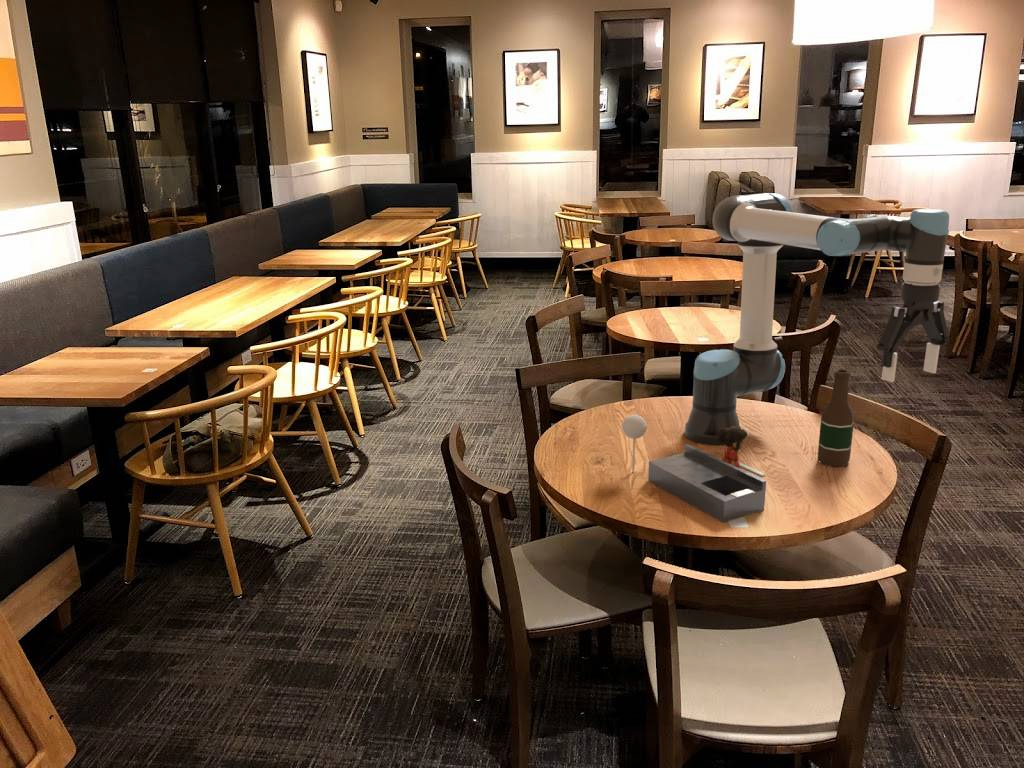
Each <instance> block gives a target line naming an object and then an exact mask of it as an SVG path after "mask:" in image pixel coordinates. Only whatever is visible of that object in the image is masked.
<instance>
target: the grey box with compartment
mask: <svg viewBox="0 0 1024 768" xmlns="http://www.w3.org/2000/svg"><path fill="white" fill-rule="evenodd" d="M721 459H722V458H721ZM721 459H720V458H718V457H716V456H713V455H712V454H710V453H707V452H705V451H704V450H702V449H699V448H697V447H695V446H693V445H691V444H689V443H687V444H684V452H681V453H677V454H673V455H669V456H666V457H662V458H658V459H653V460H651V461H650V460H649V461H648V476H647V477H648V478H647V480H648V482H650V483H652V485H656V486H657V487H659V488H661V489H662V490H664V491H665V492H668V493H669V494H671V495H673V496H675V497H676V498H678V499H681V500H682V501H684V502H685V503H687V504H689V505H691V506H693V507H694V508H696V509H698V510H700V511H702V512H703V513H705V514H707V515H709V516H711V517H712V518H714V519H716V520H717V521H720V522H721V523H728V522H730V521H733V520H736V519H739V518H743V517H746V516H748V515H751V514H755V513H758V512H761V511H764V510H765V503H766V491H767V489H766V488H767V480H765V479H763V478H762V477H761V478H760V477H759V476H757V475H756V474H755V475H754V473H753V474H752V473H750V472H748V471H747V470H745V469H742V468H740V467H739V468H738V467H736V466H733V465H731V464H729V463H727V462H725V461H723V460H721Z"/></svg>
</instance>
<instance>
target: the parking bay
mask: <svg viewBox="0 0 1024 768" xmlns="http://www.w3.org/2000/svg"><path fill="white" fill-rule="evenodd" d="M738 462H739V464H740V466H739V468H740V467H741V469H742V468H743V470H745V471H747V472H748V471H749V472H751V473H753V474H755V475H756V476H757V475H758V477H759V476H760V477H761V478H762V477H765V476H766V473H764V472H761V471H759V470H757V469H756V468H753V467H751V466H748V465H746V464H744V463H742V462H740V461H738Z"/></svg>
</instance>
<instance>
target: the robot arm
mask: <svg viewBox="0 0 1024 768" xmlns="http://www.w3.org/2000/svg"><path fill="white" fill-rule="evenodd" d="M949 223H950V214H949V212H948V211H947V210H943V209H938V208H937V209H935V208H934V209H932V208H931V209H930V208H920V209H919V208H918V209H913V210H912V211H911V213H910V216H909V217H904V216H897V215H896V216H894V215H887V214H867V215H866V216H864V217H861V218H842V217H841V218H839V217H832V216H825V215H815V214H809V213H808V214H807V213H801V212H800V213H799V212H794V209H793V206H792V204H791V202H789V200H788V199H787V198H786V197H785V196H784V195H782V194H780V193H772V192H771V193H769V192H763V193H762V192H761V193H753V194H743V195H742V194H739V195H737V194H736V195H732V196H729V197H726V198H725V199H723V200H722V201H720V202H719V203H718V205H717V206H716V207H715V209H714V211H713V213H712V226H713V229H714V231H715V232H716V234H717V235H718V236H719V237H720V238H722V239H724V240H726V241H731V242H732V241H733V242H737V247H738V248H740V250H741V251H742V252H743V253H742V255H743V256H742V278H741V279H742V280H741V297H740V298H741V299H740V300H741V301H740V321H739V322H740V323H739V338H738V339H737V340H736V341H735V342H734V343H733V347H732V348H733V350H731V349H726V348H724V349H723V348H721V349H712V350H711V349H710V350H707V351H705V352H702V353H700V354H699V355H697V357H696V358H695V361H694V368H693V388H692V408H691V411H690V412H689V416H688V419H687V422H686V423H685V427H684V436H685V437H686V438H687V439H688V440H691V441H693V442H694V443H695V442H696V443H698V444H704V445H712V446H713V445H714V446H721V445H722V444H721V443H720V442H719V440H718V434H719V431H720V429H725V428H729V427H731V426H736V427H739V428H741V425H740V420H739V417H738V414H737V413H738V412H737V399H738V397H741V396H744V395H749V394H755V393H763V392H767V391H768V390H771V389H774V388H775V387H778V385H780V384H781V382H782V380H783V378H784V375H785V372H786V363H785V359H784V358H783V354H782V352H780V350H778V344H777V343H776V342H775V341H774V340H773V326H774V325H773V324H774V323H773V322H774V307H775V289H776V274H777V273H776V271H777V257H778V255H777V253H778V252H779V250H780V249H781V248H782V247H783V246H784V245H786V246H792V247H797V248H798V247H799V248H804V249H812V250H817V251H821V252H822V253H823V254H824V255H826V256H830V257H831V256H832V257H845V256H848V255H854V254H855V255H856V254H862V253H871V252H880V251H881V252H882V251H892V252H900V253H905V257H904V258H905V260H904V265H903V273H902V280H903V283H902V284H901V290H900V300H902V302H903V306H902V307H899V306H895V305H894V306H892V308H891V311H890V317H889V319H888V321H887V323H886V326H885V327H884V330H883V332H882V334H881V335H880V339H879V341H878V343H877V346H876V349H877V350H878V351H879V350H880V351H882V352H883V355H882V371H881V380H883V381H886V382H888V383H894V382H895V379H896V370H897V369H896V368H897V364H898V362H897V361H898V352H896V351H897V350H898V349H899V346H900V345H901V344H902V342H903V340H905V337H906V336H907V334H908V333H909V332H910V330H912V329H914V327H917V326H919V325H921V326H922V328H923V330H924V331H925V334H926V337H927V338H928V340H929V342H927V343H926V347H925V348H926V349H925V355H924V361H923V362H924V363H923V372H927V373H930V374H936V373H937V368H938V362H939V361H938V360H939V356H940V351H941V346H945V345H947V341H949V339H950V337H949V336H950V335H949V331H948V327H947V321H946V318H945V317H946V316H945V313H944V312H945V311H944V309H945V302H943V301H939V299H940V293H941V285H940V282H942V276H943V269H944V262H945V254H946V247H947V242H948V237H949V233H950V229H949V227H950V226H949ZM741 429H742V428H741ZM722 446H723V445H722Z"/></svg>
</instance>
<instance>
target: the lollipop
mask: <svg viewBox="0 0 1024 768" xmlns="http://www.w3.org/2000/svg"><path fill="white" fill-rule="evenodd" d="M621 429H622V432H623V433H624V435H625V436H626V437H627V438H629V439H632V465H631V466H632V467H631V468H632V469H631V470H632V473H633V472H634V473H635V454H636V453H635V452H636V439H639V438H640V439H641V438H642V437H643V436H644V435H645V433H646V432H647V430H648V424H647V421H646V420H645V419H644V418H643V417H642V416H641V415H638V414H630V415H628V416H626V418H624V420H623V422H622V423H621Z"/></svg>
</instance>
